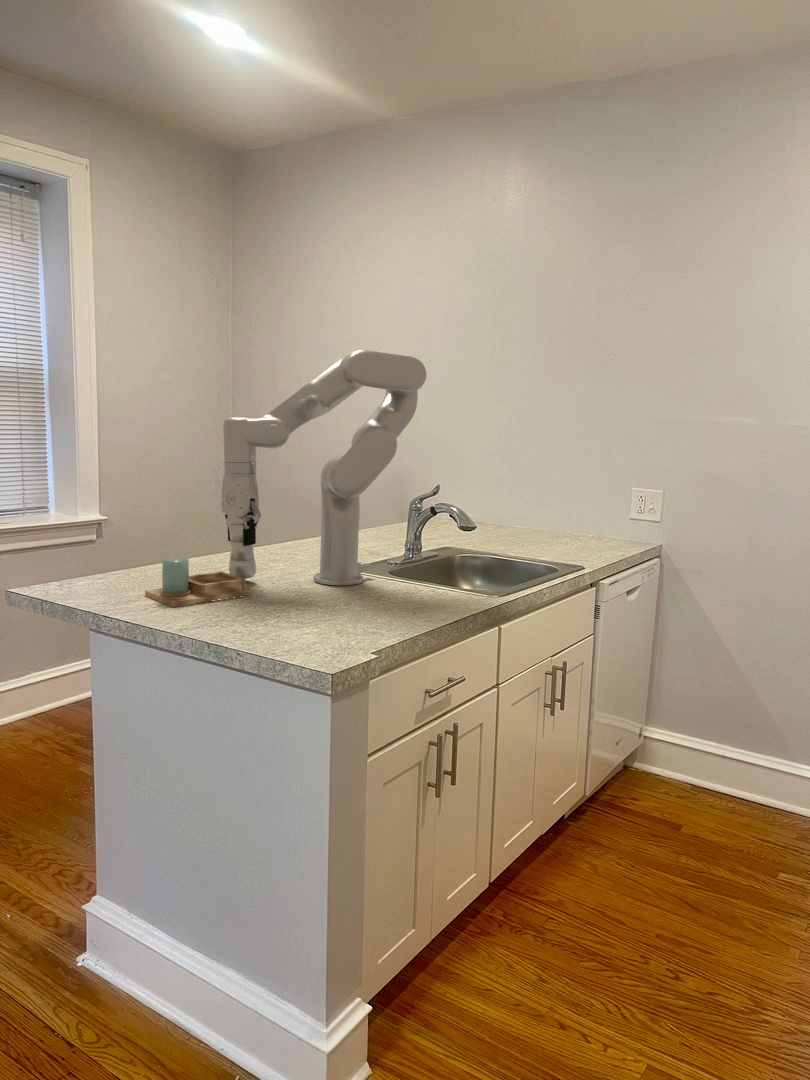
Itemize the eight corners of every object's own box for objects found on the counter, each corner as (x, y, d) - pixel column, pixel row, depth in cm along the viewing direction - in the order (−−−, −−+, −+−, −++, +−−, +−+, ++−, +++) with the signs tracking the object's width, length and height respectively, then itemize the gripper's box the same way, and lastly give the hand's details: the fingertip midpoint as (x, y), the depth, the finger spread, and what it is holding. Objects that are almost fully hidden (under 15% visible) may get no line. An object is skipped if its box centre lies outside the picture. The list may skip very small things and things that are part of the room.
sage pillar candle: (180, 587, 181) (180, 556, 180) (193, 591, 178) (193, 561, 176) (157, 590, 178) (157, 559, 176) (170, 595, 174) (170, 563, 173)
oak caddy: (219, 585, 193) (219, 570, 192) (249, 596, 184) (249, 580, 183) (145, 595, 180) (145, 579, 179) (173, 607, 171) (173, 590, 170)
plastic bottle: (250, 582, 193) (249, 500, 190) (224, 580, 195) (222, 498, 191) (260, 576, 200) (259, 496, 196) (235, 574, 201) (233, 495, 197)
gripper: (207, 467, 196) (209, 539, 199) (246, 472, 184) (248, 549, 187) (234, 465, 201) (235, 536, 204) (274, 470, 189) (274, 545, 192)
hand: (241, 541), depth 196 cm, fingers closed on plastic bottle, 6 cm apart
